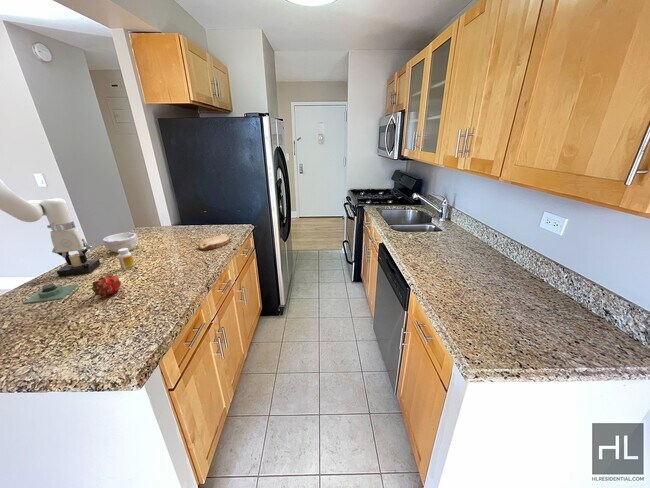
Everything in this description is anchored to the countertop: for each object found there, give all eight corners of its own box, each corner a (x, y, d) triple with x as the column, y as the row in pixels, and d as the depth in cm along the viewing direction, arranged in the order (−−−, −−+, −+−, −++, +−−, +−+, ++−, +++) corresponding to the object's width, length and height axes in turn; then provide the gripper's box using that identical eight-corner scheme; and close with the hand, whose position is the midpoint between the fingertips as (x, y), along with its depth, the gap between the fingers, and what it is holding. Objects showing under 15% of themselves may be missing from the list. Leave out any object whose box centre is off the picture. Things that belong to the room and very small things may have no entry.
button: (41, 293, 99) (39, 289, 98) (47, 288, 102) (45, 284, 102) (52, 291, 100) (50, 287, 99) (58, 287, 103) (57, 283, 102)
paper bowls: (146, 244, 154) (142, 232, 151) (125, 255, 140) (121, 241, 137) (122, 244, 155) (118, 231, 152) (99, 254, 141) (94, 240, 138)
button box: (25, 307, 96) (20, 298, 95) (44, 293, 105) (39, 285, 104) (64, 302, 99) (60, 293, 98) (79, 289, 108) (75, 280, 107)
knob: (70, 267, 120) (66, 257, 118) (75, 263, 124) (71, 253, 122) (82, 266, 122) (77, 255, 120) (86, 262, 125) (82, 252, 123)
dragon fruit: (98, 306, 100) (118, 293, 111) (114, 292, 99) (133, 281, 111) (79, 290, 98) (102, 279, 109) (96, 276, 97) (117, 266, 109)
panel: (58, 277, 118) (56, 270, 117) (72, 267, 127) (69, 261, 126) (90, 273, 121) (87, 267, 120) (100, 264, 130) (98, 258, 129)
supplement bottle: (137, 265, 129) (132, 247, 126) (131, 270, 124) (125, 251, 121) (126, 265, 129) (120, 247, 125) (119, 270, 124) (113, 251, 120)
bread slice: (230, 237, 166) (229, 231, 165) (231, 247, 151) (231, 241, 149) (199, 240, 160) (198, 235, 159) (198, 251, 144) (196, 245, 143)
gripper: (33, 231, 110) (50, 269, 117) (82, 227, 115) (96, 263, 122) (44, 226, 116) (59, 262, 123) (90, 222, 122) (102, 257, 128)
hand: (77, 262), depth 122 cm, fingers closed on knob, 4 cm apart
